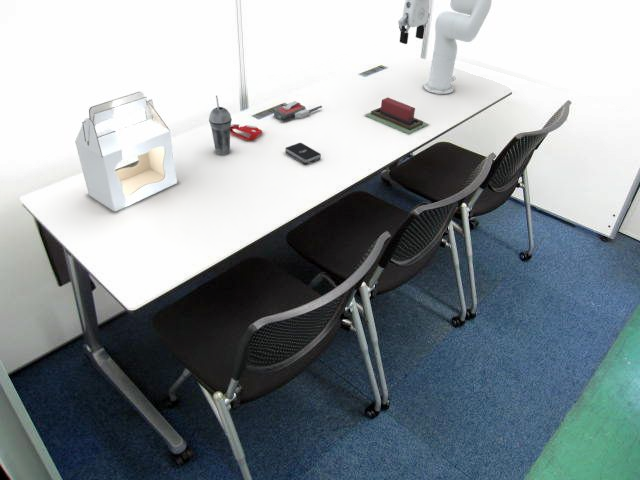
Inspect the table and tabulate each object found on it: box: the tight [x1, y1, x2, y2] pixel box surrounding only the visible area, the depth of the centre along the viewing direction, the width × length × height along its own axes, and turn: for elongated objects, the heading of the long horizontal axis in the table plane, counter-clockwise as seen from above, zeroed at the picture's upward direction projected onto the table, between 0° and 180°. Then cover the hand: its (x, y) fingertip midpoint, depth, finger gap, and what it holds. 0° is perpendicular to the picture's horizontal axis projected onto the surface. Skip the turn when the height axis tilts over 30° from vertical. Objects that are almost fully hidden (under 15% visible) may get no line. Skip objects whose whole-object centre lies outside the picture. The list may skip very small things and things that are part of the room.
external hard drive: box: [284, 142, 322, 165], centre depth 181 cm, size 7×11×2 cm, turn 41°
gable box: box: [74, 91, 178, 213], centre depth 153 cm, size 22×13×28 cm, turn 140°
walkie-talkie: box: [273, 100, 323, 122], centre depth 208 cm, size 9×4×20 cm
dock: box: [365, 106, 429, 135], centre depth 207 cm, size 12×21×2 cm, turn 45°
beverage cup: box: [208, 95, 233, 156], centre depth 176 cm, size 7×7×20 cm
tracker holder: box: [230, 123, 263, 141], centre depth 191 cm, size 12×4×10 cm
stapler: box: [380, 97, 416, 126], centre depth 206 cm, size 14×4×6 cm, turn 45°
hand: (411, 40), depth 202 cm, fingers open, 9 cm apart
